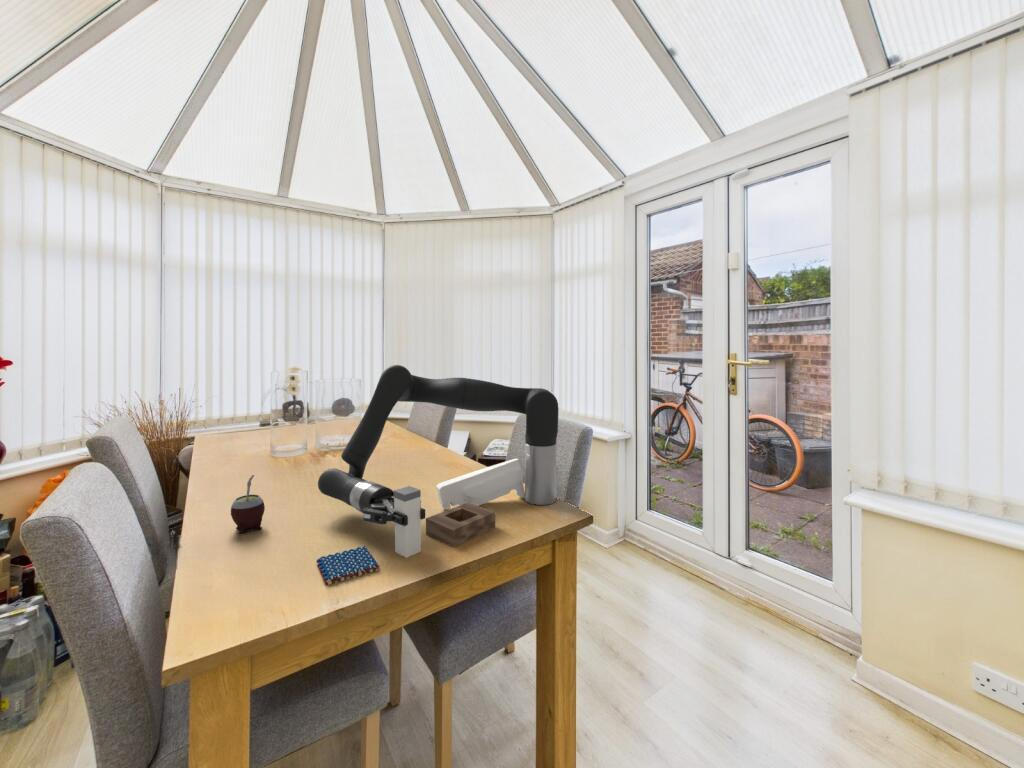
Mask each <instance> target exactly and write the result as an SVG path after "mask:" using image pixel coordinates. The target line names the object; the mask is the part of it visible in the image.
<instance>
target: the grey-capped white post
mask: <svg viewBox="0 0 1024 768" xmlns="http://www.w3.org/2000/svg"><path fill="white" fill-rule="evenodd" d="M421 491H422V490H421V489H419V488H416V487H413V486H411V485H409V486H404V487H402V488H397V489H394V490H393V492H394V510H395V511H396V512H397V511H398V512H400V513H402V514H405V515H407V517H408V525H406V526H403V525H399V524H397V523H395V522H394V549H395V550H394V551H395V553H396V554H398V555H399V556H401V555H402V557H403V556H404V557H403V558H405V557H406V558H405V559H407V558H409V557H412V556H414V555H416V554H418V553H421V552H422V526H421V525H422V524H421V522H422V521H421V519H420V500H421V497H422V496H421ZM411 555H412V556H411Z"/></svg>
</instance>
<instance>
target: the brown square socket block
mask: <svg viewBox="0 0 1024 768" xmlns="http://www.w3.org/2000/svg"><path fill="white" fill-rule="evenodd" d="M495 528H496V511H493V510H491V509H488V508H485V507H483V506H482V507H481V506H480V505H479V506H477V505H474V504H471V503H465V504H463V505H458V506H457V505H456V507H455V506H454V507H453V508H448V509H446V510H444V511H442V512H438V513H436V514H434V515H431V516H429V517H425V535H426V536H429V537H431V538H433V539H435V540H437V541H439V542H441V543H443V544H446V545H448V546H450V547H452V548H455V547H457V546H459V545H461V544H463V543H465V542H467V541H470V540H471V539H474V538H476V537H478V536H480V535H482V534H485V533H487V532H488V531H491V530H492V529H493V530H494V529H495Z"/></svg>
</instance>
